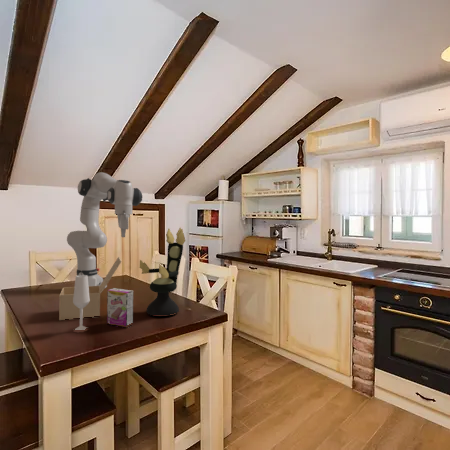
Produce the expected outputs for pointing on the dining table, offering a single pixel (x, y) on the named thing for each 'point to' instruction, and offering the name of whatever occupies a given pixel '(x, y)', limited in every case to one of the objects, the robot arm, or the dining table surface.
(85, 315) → the carton
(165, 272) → the black and tan chair
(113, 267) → the carton flap
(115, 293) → the candy bar box
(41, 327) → the dining table surface
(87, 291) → the champagne flute
